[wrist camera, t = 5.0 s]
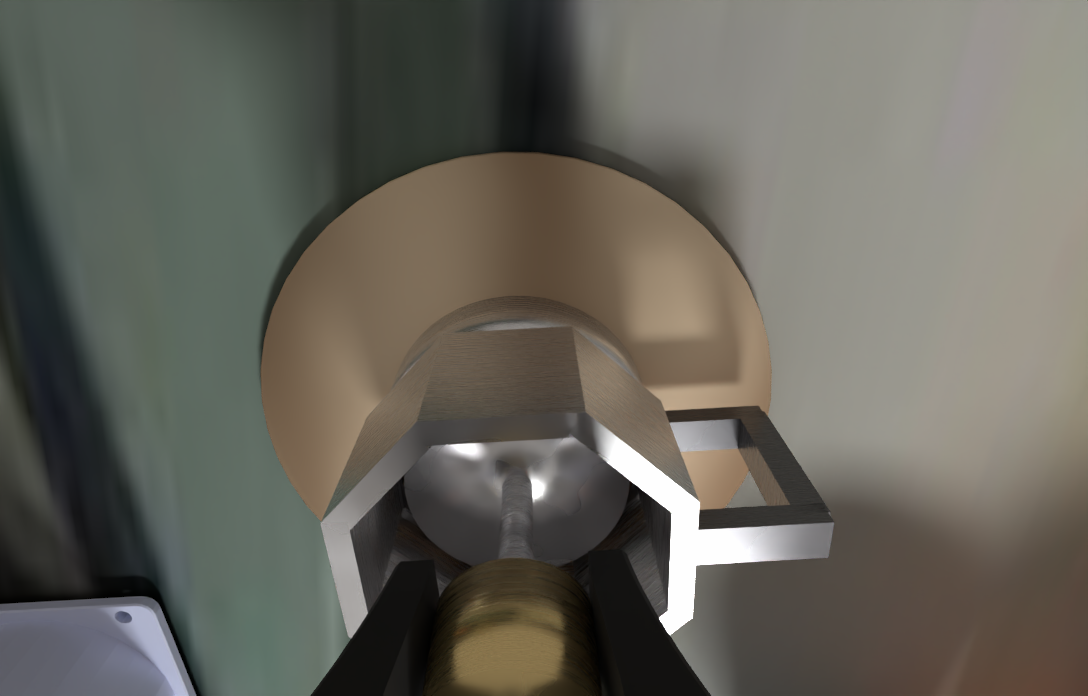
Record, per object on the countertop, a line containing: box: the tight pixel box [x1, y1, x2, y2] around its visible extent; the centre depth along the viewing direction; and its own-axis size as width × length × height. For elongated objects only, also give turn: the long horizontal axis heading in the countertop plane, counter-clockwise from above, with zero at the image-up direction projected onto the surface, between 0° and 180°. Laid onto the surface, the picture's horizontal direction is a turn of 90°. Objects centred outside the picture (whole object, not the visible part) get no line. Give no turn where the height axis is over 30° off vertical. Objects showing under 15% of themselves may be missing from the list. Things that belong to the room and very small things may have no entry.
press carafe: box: [320, 296, 834, 638], centre depth 15 cm, size 10×7×6 cm
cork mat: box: [261, 152, 772, 521], centre depth 18 cm, size 14×14×1 cm
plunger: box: [404, 438, 630, 696], centre depth 12 cm, size 5×5×6 cm
